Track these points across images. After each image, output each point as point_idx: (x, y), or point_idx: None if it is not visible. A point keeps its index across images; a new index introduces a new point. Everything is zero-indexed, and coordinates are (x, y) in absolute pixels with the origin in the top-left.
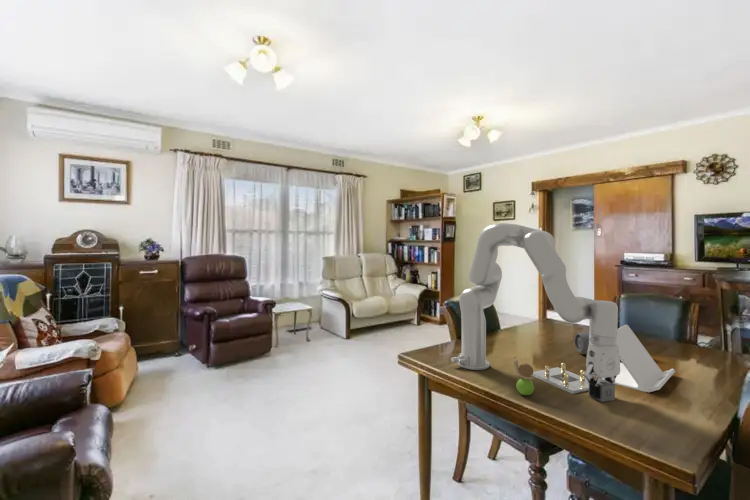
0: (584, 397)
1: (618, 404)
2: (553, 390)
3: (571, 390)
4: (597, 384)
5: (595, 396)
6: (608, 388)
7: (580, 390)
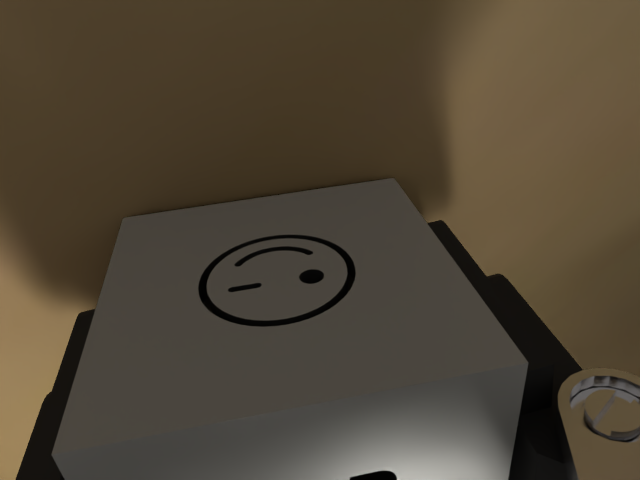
0: None
1: (167, 65)
2: None
3: None
4: (624, 417)
5: None
6: (297, 340)
7: None
